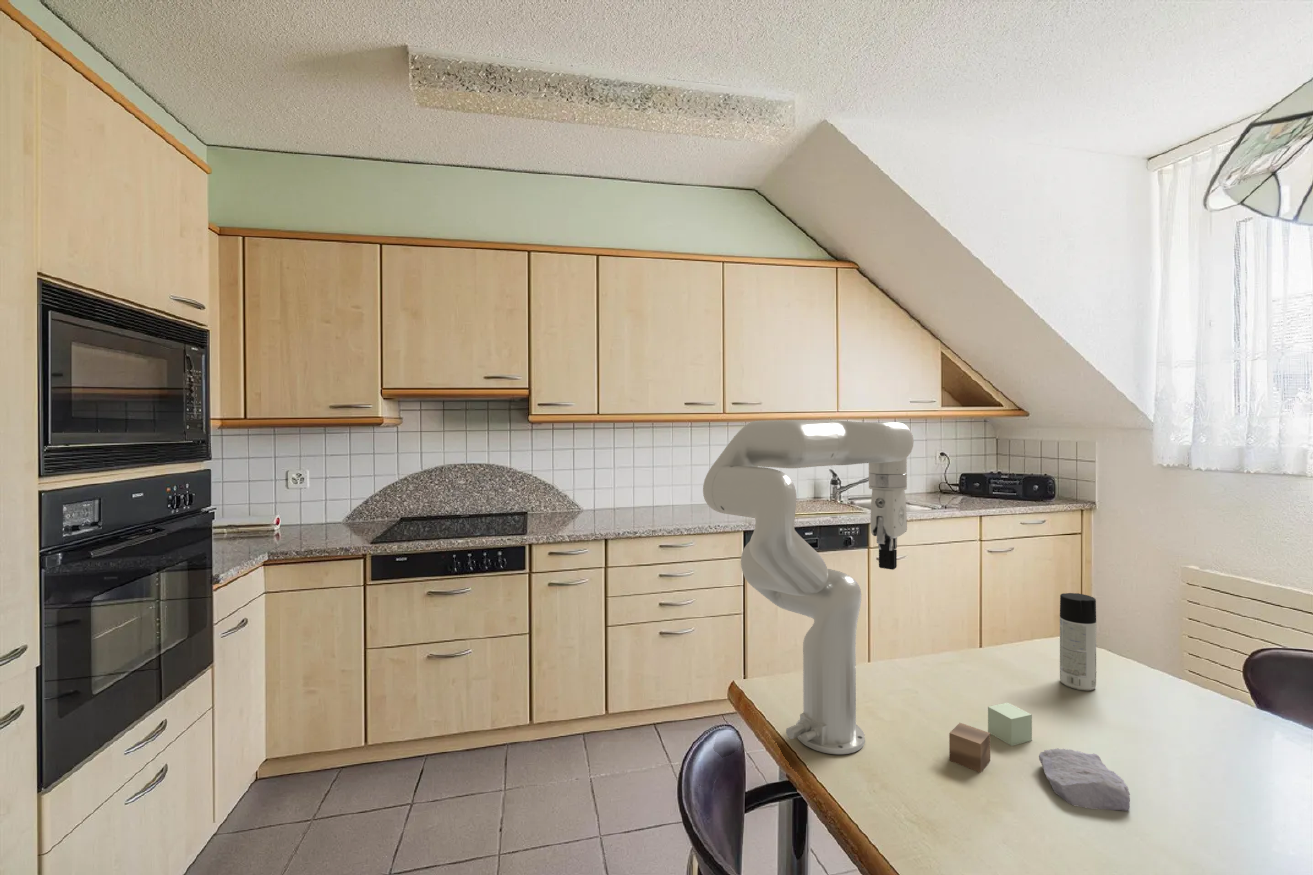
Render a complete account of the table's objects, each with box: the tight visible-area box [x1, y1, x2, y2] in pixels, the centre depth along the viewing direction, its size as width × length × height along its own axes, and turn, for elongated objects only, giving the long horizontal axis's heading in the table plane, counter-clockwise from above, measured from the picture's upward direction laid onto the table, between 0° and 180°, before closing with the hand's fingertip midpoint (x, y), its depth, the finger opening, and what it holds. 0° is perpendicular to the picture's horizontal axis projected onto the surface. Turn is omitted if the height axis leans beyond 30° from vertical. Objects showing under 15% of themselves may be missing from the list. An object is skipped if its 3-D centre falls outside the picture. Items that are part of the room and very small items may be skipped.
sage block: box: [987, 702, 1033, 747], centre depth 109 cm, size 5×5×5 cm
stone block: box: [1038, 747, 1131, 812], centre depth 94 cm, size 12×5×10 cm
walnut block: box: [948, 722, 991, 773], centre depth 101 cm, size 5×5×5 cm
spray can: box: [1059, 592, 1097, 692], centre depth 130 cm, size 7×7×20 cm
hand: (887, 567), depth 123 cm, fingers closed
